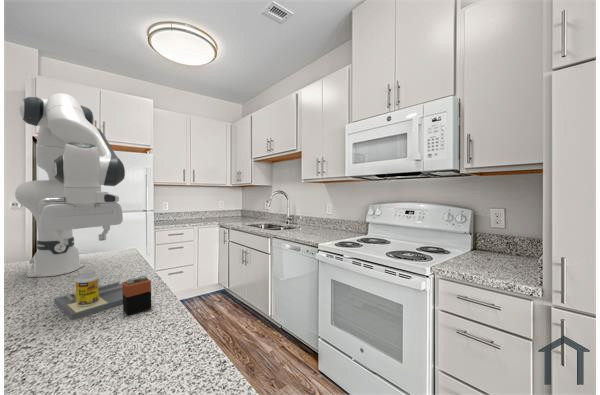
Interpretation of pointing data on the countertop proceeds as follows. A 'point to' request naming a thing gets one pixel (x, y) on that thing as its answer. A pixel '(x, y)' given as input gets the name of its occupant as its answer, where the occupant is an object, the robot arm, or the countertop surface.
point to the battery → (136, 295)
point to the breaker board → (107, 299)
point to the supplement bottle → (87, 288)
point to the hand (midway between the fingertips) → (84, 242)
